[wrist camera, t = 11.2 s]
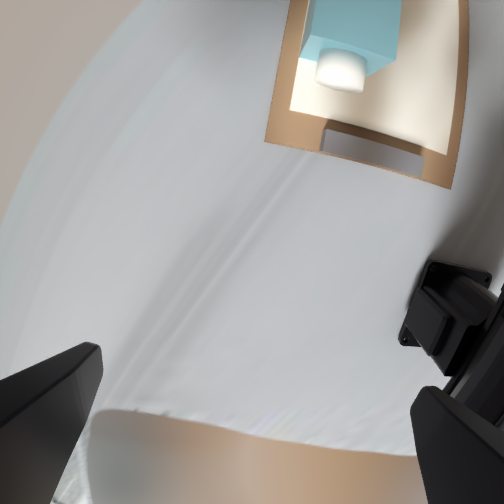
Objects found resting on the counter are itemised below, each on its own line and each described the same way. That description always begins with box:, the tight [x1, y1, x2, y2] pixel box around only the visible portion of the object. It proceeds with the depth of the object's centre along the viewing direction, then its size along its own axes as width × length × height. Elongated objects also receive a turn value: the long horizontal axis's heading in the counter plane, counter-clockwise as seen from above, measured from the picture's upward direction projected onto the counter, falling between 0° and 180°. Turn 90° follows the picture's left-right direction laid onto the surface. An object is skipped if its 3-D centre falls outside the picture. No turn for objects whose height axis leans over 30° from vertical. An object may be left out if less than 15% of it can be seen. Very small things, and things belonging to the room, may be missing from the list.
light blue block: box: [299, 0, 402, 93], centre depth 12 cm, size 10×4×4 cm, turn 170°
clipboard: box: [264, 0, 469, 190], centre depth 14 cm, size 12×15×1 cm
